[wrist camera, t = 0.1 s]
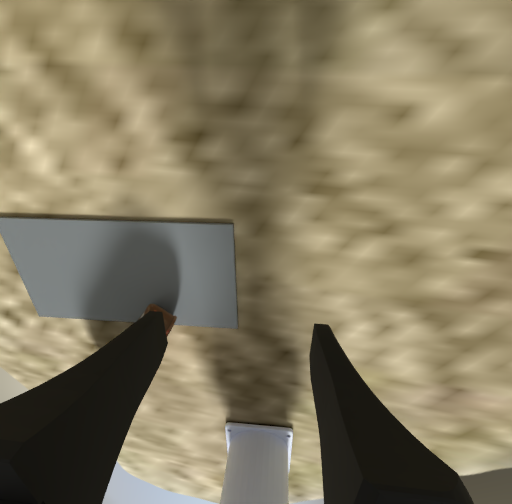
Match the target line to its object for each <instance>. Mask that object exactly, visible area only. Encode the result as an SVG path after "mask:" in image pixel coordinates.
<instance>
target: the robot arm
mask: <svg viewBox="0 0 512 504" xmlns="http://www.w3.org/2000/svg"><path fill="white" fill-rule="evenodd" d="M167 344H168V342H167V336H166V330H165V324H164V319H163V313H162V312H159V311H149V312H148V313H147V314H145V315H144V316H143V317H141V318H140V319H139V320H138V321H136V322H135V323H134V324H133V325H131V326H130V327H129V328H128V329H126V330H125V331H124V332H122V333H121V334H120V335H118V336H117V337H116V338H115V339H113V340H112V341H111V342H109V343H108V344H106V345H105V346H103V347H102V348H101V349H99V350H98V351H96V352H95V353H94V354H92V355H91V356H89V357H88V358H86V359H85V360H83V361H81V362H80V363H78V364H77V365H75V366H73V367H72V368H70V369H68V370H67V371H65V372H63V373H61V374H59V375H58V376H56V377H54V378H52V379H50V380H48V381H47V382H45V383H43V384H41V385H39V386H37V387H35V388H33V389H31V390H29V391H27V392H25V393H23V394H20V395H18V396H16V397H14V398H12V399H10V400H8V401H5V402H3V403H0V504H102V501H103V498H104V495H105V492H106V490H107V486H108V484H109V481H110V478H111V475H112V472H113V469H114V467H115V464H116V461H117V459H118V456H119V453H120V451H121V448H122V445H123V443H124V440H125V437H126V435H127V432H128V430H129V427H130V425H131V422H132V420H133V418H134V416H135V413H136V411H137V409H138V407H139V405H140V403H141V401H142V399H143V397H144V395H145V393H146V391H147V389H148V388H149V386H150V384H151V382H152V380H153V378H154V376H155V374H156V372H157V370H158V368H159V366H160V364H161V361H162V358H163V356H164V353H165V350H166V347H167ZM310 375H311V383H312V390H313V396H314V402H315V408H316V415H317V421H318V427H319V435H320V446H321V460H322V475H323V491H324V504H474V503H473V501H472V499H471V497H470V495H469V493H468V491H467V489H466V488H465V486H464V484H463V482H462V481H461V479H460V477H459V475H458V474H457V473H456V472H455V471H454V470H453V469H451V468H450V467H449V466H448V465H447V464H445V463H444V462H443V461H442V460H441V459H439V458H438V457H437V456H436V455H435V454H433V453H432V452H431V451H430V450H429V449H427V448H426V447H425V446H424V445H423V444H422V443H421V442H420V441H419V440H418V439H416V438H415V437H414V436H413V435H412V434H411V433H410V432H409V431H408V430H407V429H406V428H405V427H404V426H403V425H402V424H401V423H400V422H399V421H398V420H397V419H396V418H395V417H394V416H393V415H392V414H391V413H390V412H389V410H388V409H387V408H386V407H385V406H384V405H383V404H382V403H381V402H380V400H379V399H378V398H377V397H376V396H375V394H374V393H373V392H372V391H371V390H370V388H369V387H368V386H367V384H366V383H365V382H364V381H363V379H362V378H361V376H360V375H359V374H358V372H357V371H356V370H355V368H354V367H353V365H352V364H351V362H350V361H349V359H348V358H347V356H346V354H345V353H344V351H343V350H342V348H341V346H340V345H339V343H338V341H337V339H336V338H335V336H334V334H333V332H332V330H331V328H330V326H329V325H326V324H314V329H313V336H312V343H311V349H310ZM225 431H226V441H227V452H228V458H227V464H226V470H225V476H224V482H223V488H222V494H221V500H220V504H289V497H288V473H289V470H290V460H291V449H292V439H293V430H292V429H291V428H286V427H275V426H264V425H253V424H242V423H231V422H228V423H226V426H225Z"/></svg>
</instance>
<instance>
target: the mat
mask: <svg viewBox="0 0 512 504" xmlns="http://www.w3.org/2000/svg"><path fill="white" fill-rule="evenodd" d="M0 233H1V235H2V238H3V240H4V242H5V244H6V246H7V248H8V250H9V253H10V255H11V257H12V259H13V261H14V263H15V265H16V268H17V270H18V272H19V274H20V276H21V278H22V280H23V283H24V285H25V287H26V289H27V291H28V293H29V296H30V298H31V300H32V302H33V304H34V306H35V308H36V311H37V313H38V315H39V316H43V317H58V318H74V319H90V320H106V321H122V322H136V321H138V319H139V318H140V317H141V315H142V314H143V313H144V311H145V310H146V308H147V307H148V305H150V304H155V305H157V306H159V307H161V308H162V309H164V310H165V311H167V312H169V313H170V314H172V315H173V316H177V319H176V321H175V323H174V325H186V326H202V327H218V328H234V329H238V314H237V292H236V270H235V248H234V226H233V224H227V223H194V222H160V221H127V220H94V219H61V218H28V217H0Z"/></svg>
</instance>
